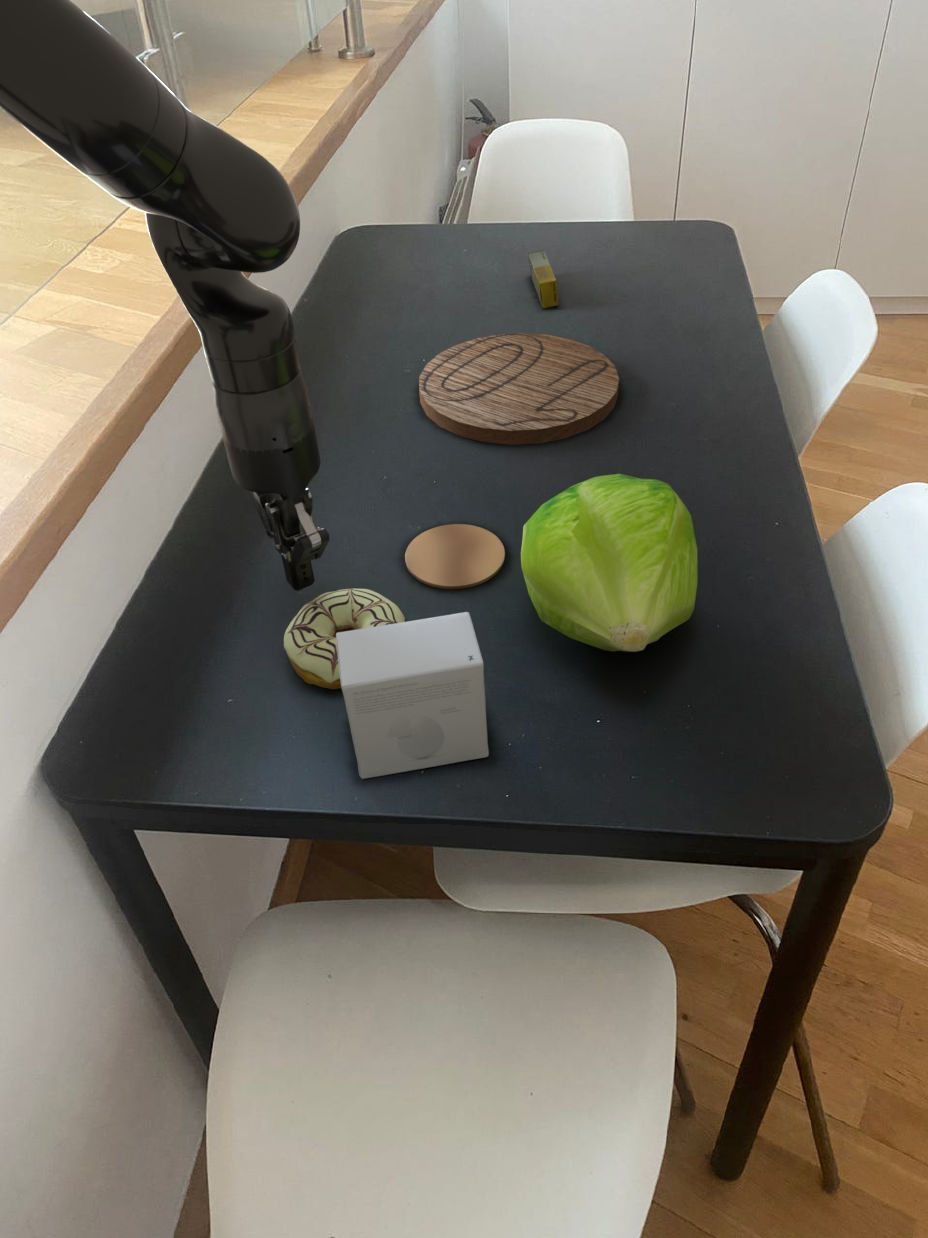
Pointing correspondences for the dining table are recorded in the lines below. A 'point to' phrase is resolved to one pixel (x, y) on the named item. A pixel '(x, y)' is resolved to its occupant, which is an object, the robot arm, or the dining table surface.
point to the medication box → (543, 279)
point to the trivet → (518, 388)
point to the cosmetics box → (414, 694)
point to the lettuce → (612, 562)
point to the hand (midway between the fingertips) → (301, 583)
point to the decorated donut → (333, 631)
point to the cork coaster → (455, 556)
